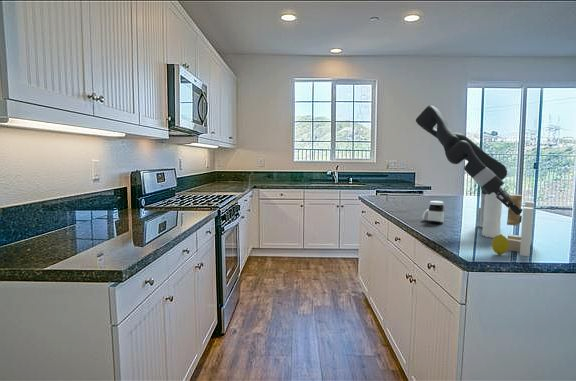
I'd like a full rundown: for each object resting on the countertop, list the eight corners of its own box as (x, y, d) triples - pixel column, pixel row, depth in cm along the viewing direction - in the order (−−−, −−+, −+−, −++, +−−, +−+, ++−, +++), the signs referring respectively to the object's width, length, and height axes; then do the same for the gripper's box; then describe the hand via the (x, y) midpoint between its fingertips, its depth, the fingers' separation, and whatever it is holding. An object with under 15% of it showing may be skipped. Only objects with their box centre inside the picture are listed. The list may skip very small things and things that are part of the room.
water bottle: (497, 235, 165) (501, 181, 162) (501, 238, 158) (505, 183, 155) (480, 234, 167) (484, 181, 164) (483, 237, 160) (487, 182, 157)
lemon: (487, 253, 136) (489, 232, 135) (501, 252, 137) (502, 232, 136) (497, 257, 131) (498, 236, 130) (511, 257, 131) (513, 236, 130)
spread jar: (441, 225, 187) (442, 203, 185) (419, 222, 193) (420, 201, 191) (445, 221, 197) (446, 200, 195) (424, 219, 203) (425, 199, 201)
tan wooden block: (506, 224, 143) (509, 195, 142) (507, 223, 146) (510, 194, 145) (520, 226, 140) (523, 196, 139) (521, 224, 143) (523, 195, 142)
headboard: (504, 252, 137) (507, 206, 135) (508, 241, 154) (511, 200, 152) (529, 256, 132) (533, 208, 130) (530, 243, 150) (534, 201, 148)
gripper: (493, 175, 140) (528, 209, 134) (497, 173, 151) (529, 204, 146) (477, 188, 143) (510, 221, 138) (482, 185, 155) (513, 216, 149)
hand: (520, 212), depth 142 cm, fingers closed on tan wooden block, 4 cm apart
